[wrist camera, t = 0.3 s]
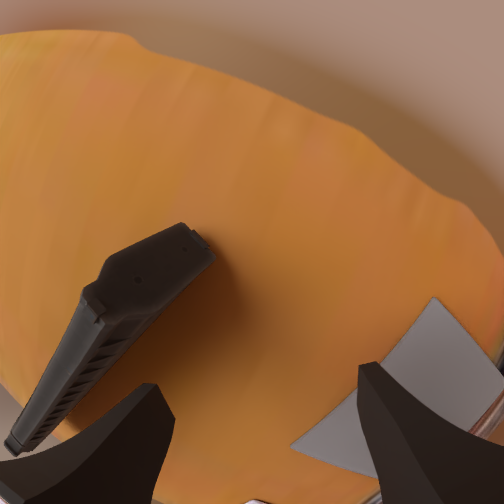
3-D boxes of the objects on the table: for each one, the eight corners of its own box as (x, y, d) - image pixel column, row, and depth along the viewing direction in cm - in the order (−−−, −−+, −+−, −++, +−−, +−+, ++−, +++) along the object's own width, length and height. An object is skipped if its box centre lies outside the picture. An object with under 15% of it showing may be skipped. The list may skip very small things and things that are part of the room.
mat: (404, 483, 21) (404, 485, 20) (290, 445, 20) (290, 447, 20) (506, 381, 18) (507, 383, 18) (433, 296, 18) (435, 298, 17)
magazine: (162, 176, 9) (-37, 467, 5) (223, 240, 10) (-12, 496, 5) (194, 238, 26) (39, 408, 22) (217, 262, 26) (57, 427, 22)
